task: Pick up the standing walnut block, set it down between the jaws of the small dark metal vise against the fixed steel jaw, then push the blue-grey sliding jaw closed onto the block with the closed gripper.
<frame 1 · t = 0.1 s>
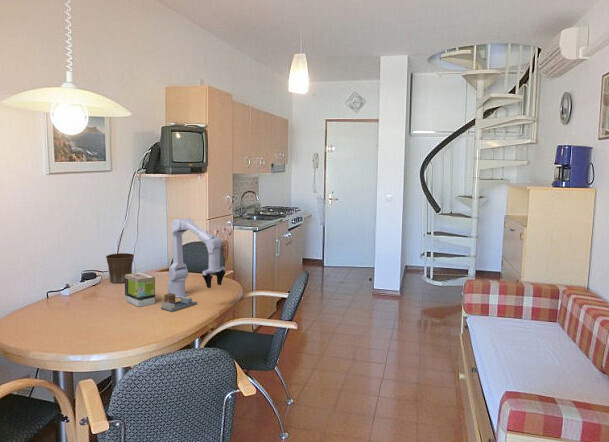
hand: (214, 286, 250), 10 cm above the table, tool pointing down, fingers open, 7 cm apart
plant pot: (120, 281, 294), on the table
tea box: (140, 302, 253), on the table
sliding jaw: (186, 299, 250), point 3 cm above the table, slide at 0.0 cm
block: (169, 303, 251), on the table
vise: (179, 306, 247), on the table
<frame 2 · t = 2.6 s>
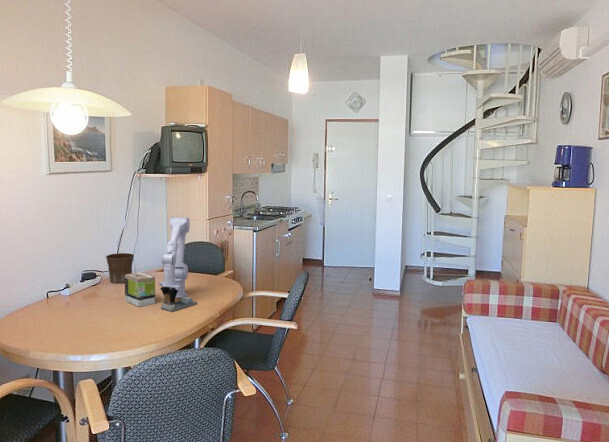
hand: (169, 300, 251), 1 cm above the table, tool pointing down, fingers closed on block, 4 cm apart
block: (169, 303, 251), on the table, touching gripper
everything else where it was.
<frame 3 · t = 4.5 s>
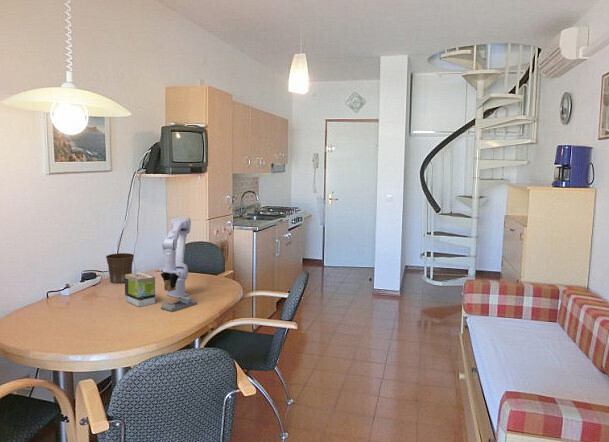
hand: (170, 286, 249), 9 cm above the table, tool pointing down, fingers closed on block, 4 cm apart
block: (170, 289, 249), point 8 cm above the table, touching gripper
everything else where it was.
when the fingers open (3 cm above the table, at t = 6.6 s): block stays where it is, resting on vise.
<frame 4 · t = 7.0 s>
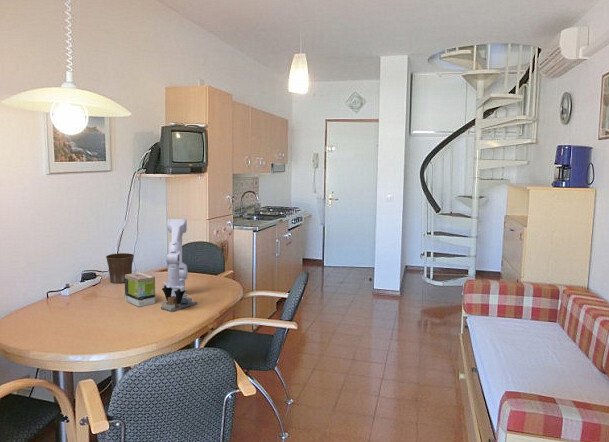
hand: (173, 302, 243), 3 cm above the table, tool pointing down, fingers open, 7 cm apart
block: (173, 306, 243), point 1 cm above the table, touching vise
everything else where it was.
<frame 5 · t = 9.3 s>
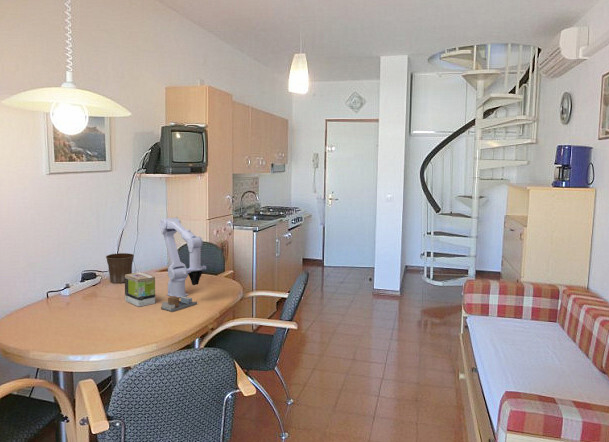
hand: (195, 284, 255), 9 cm above the table, tool pointing down, fingers closed
nothing on the table moved.
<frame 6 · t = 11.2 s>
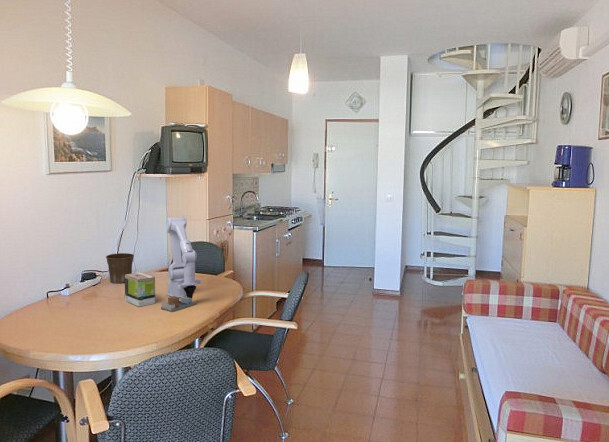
hand: (189, 299, 252), 2 cm above the table, tool pointing down, fingers closed
sliding jaw: (186, 299, 250), point 3 cm above the table, slide at 0.0 cm, touching gripper
everything else where it was.
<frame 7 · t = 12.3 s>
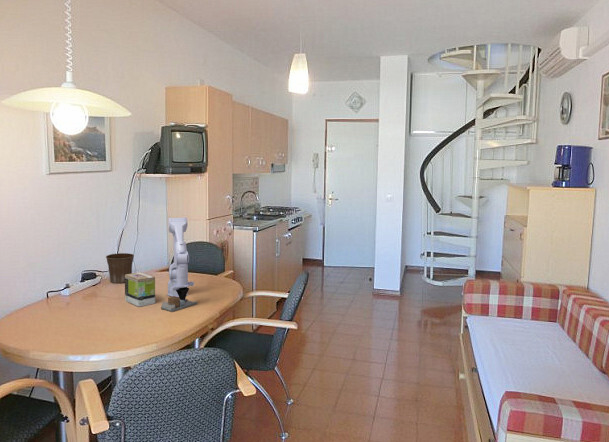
hand: (182, 301, 248), 2 cm above the table, tool pointing down, fingers closed
sliding jaw: (178, 302, 246), point 3 cm above the table, slide at 5.1 cm, touching gripper
everything else where it was.
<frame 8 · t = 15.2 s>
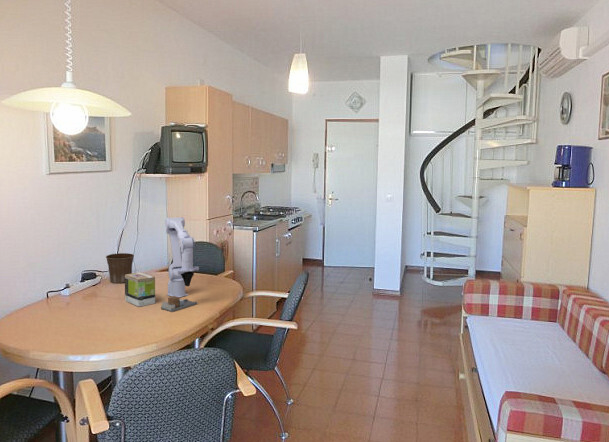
hand: (187, 285, 250), 10 cm above the table, tool pointing down, fingers closed
sliding jaw: (178, 302, 246), point 3 cm above the table, slide at 5.1 cm
everything else where it was.
at the end: sliding jaw slide at 5.1 cm; block 0.1 cm from the target spot, point 0.8 cm above the table; block tilted 0° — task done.
